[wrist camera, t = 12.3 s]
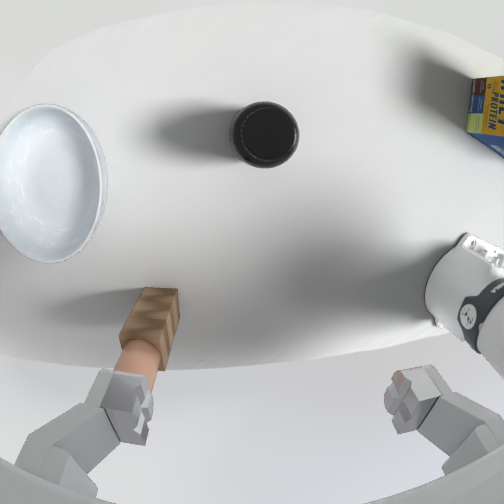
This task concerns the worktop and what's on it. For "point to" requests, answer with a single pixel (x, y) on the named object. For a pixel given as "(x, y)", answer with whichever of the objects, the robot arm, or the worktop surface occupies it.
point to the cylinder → (140, 360)
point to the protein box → (487, 112)
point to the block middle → (156, 314)
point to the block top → (148, 335)
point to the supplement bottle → (264, 134)
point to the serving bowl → (50, 183)
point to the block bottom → (162, 299)
